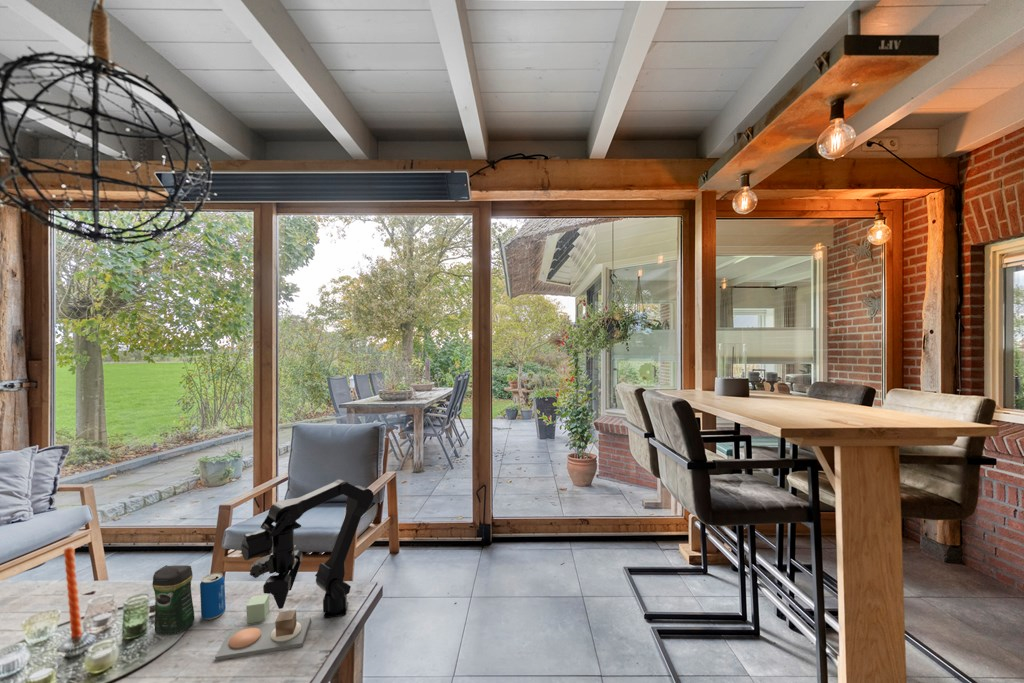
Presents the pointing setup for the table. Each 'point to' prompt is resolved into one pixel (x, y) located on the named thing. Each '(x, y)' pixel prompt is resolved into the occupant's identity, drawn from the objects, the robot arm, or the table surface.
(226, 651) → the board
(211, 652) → the table surface
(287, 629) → the walnut block
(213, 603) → the beverage can
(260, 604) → the sage block
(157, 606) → the coffee jar
